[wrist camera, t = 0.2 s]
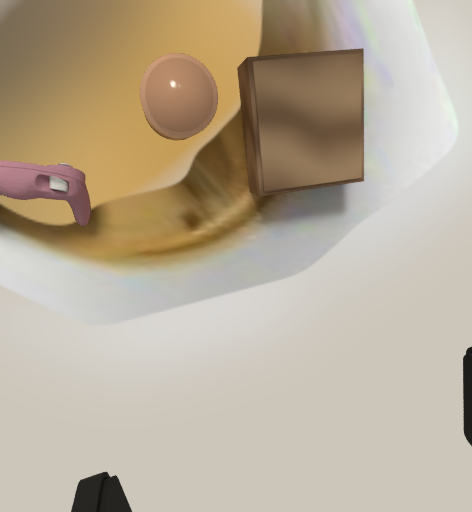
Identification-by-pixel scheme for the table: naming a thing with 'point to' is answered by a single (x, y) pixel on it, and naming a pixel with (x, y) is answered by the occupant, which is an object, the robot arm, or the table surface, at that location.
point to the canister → (178, 96)
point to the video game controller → (47, 185)
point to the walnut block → (303, 120)
